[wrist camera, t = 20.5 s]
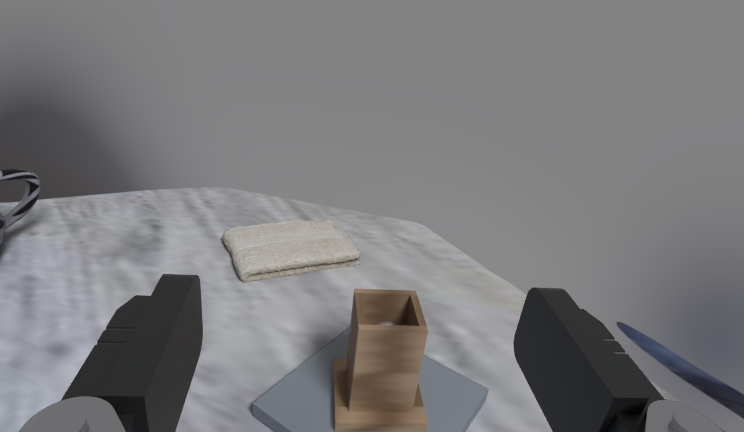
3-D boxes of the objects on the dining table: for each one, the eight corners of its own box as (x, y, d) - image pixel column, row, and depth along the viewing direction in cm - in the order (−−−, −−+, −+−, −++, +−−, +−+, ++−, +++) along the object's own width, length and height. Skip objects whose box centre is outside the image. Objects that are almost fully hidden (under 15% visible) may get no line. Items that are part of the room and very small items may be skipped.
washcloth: (365, 267, 69) (367, 249, 68) (239, 288, 61) (239, 268, 60) (333, 230, 79) (335, 214, 77) (221, 244, 71) (221, 226, 69)
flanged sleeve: (334, 431, 41) (344, 338, 36) (332, 364, 48) (340, 280, 44) (426, 431, 42) (445, 341, 37) (410, 366, 49) (426, 284, 45)
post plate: (252, 415, 43) (252, 327, 39) (357, 330, 55) (365, 256, 51) (402, 527, 35) (423, 433, 31) (485, 400, 48) (508, 320, 44)
